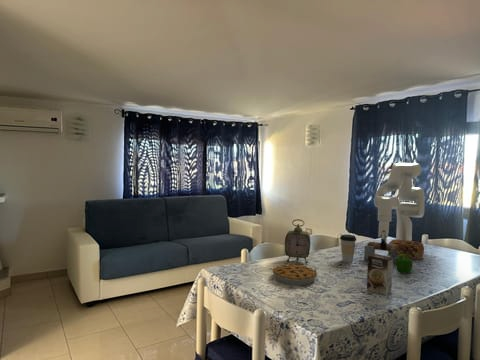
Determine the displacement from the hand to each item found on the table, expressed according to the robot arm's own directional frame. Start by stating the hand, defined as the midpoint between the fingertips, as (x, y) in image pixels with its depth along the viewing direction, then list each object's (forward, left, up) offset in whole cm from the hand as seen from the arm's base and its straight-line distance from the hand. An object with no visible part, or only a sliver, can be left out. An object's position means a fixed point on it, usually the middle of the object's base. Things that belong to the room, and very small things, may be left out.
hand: (383, 248), depth 199 cm
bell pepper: (+17, +11, -8) cm, 22 cm away
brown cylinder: (0, 0, +1) cm, 1 cm away
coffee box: (+52, +1, -8) cm, 53 cm away
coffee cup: (+9, -19, -8) cm, 23 cm away
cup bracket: (0, -7, -8) cm, 10 cm away
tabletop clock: (+25, -45, -8) cm, 52 cm away
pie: (+54, -38, -8) cm, 67 cm away
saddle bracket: (0, +6, -8) cm, 9 cm away
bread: (-21, +12, -8) cm, 25 cm away
